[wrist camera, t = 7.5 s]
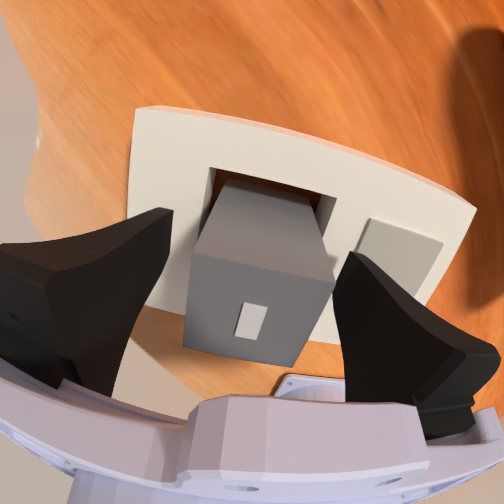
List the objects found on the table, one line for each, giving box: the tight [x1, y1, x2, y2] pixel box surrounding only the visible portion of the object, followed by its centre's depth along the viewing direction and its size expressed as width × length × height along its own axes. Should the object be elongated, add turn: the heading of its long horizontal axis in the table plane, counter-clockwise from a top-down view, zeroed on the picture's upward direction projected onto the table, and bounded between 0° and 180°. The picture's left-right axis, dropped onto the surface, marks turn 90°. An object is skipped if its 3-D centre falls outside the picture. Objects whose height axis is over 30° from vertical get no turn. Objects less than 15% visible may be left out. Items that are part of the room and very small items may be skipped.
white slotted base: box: [127, 105, 477, 345], centre depth 13 cm, size 10×16×3 cm, turn 77°
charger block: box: [183, 178, 336, 368], centre depth 12 cm, size 4×4×7 cm
